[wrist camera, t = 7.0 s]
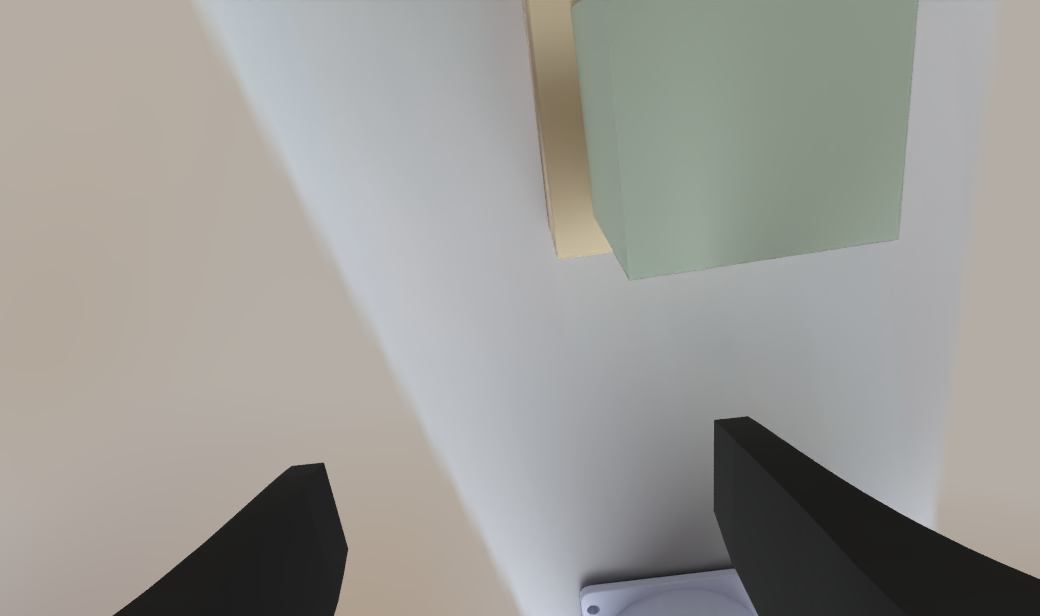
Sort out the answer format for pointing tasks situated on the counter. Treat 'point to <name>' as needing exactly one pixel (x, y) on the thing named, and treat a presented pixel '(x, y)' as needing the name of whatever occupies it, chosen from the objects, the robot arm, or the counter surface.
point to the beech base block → (561, 129)
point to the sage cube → (743, 126)
